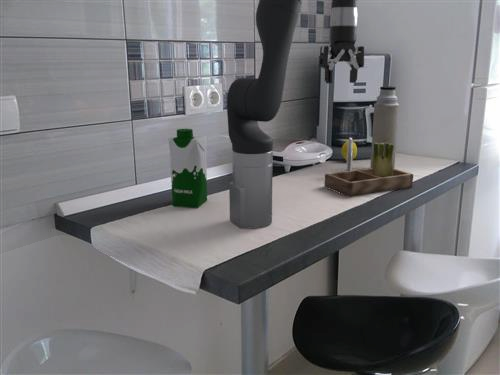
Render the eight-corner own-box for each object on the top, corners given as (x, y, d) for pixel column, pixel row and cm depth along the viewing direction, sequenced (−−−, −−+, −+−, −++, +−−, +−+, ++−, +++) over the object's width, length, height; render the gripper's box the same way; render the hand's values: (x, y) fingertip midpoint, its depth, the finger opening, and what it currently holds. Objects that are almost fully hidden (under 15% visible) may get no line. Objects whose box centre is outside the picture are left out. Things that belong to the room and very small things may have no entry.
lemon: (355, 160, 185) (356, 138, 183) (357, 163, 180) (358, 141, 178) (340, 159, 186) (341, 138, 184) (341, 163, 181) (342, 141, 178)
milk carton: (168, 207, 129) (164, 130, 124) (181, 197, 138) (179, 125, 133) (199, 209, 127) (197, 131, 122) (211, 200, 135) (210, 126, 130)
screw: (351, 180, 156) (337, 177, 159) (359, 177, 160) (345, 175, 163) (353, 139, 153) (339, 137, 156) (361, 137, 156) (347, 135, 159)
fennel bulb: (369, 180, 152) (371, 141, 148) (381, 178, 154) (383, 140, 151) (383, 184, 147) (386, 144, 144) (395, 182, 149) (398, 143, 146)
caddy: (349, 197, 138) (350, 183, 137) (324, 186, 148) (325, 173, 147) (412, 187, 148) (413, 174, 147) (384, 178, 158) (385, 166, 157)
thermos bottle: (374, 166, 175) (379, 85, 168) (397, 168, 171) (403, 86, 164) (366, 170, 169) (372, 86, 161) (390, 173, 165) (396, 87, 157)
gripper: (330, 23, 135) (328, 84, 140) (372, 24, 141) (368, 83, 146) (315, 25, 142) (313, 83, 146) (355, 26, 148) (352, 81, 152)
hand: (340, 83), depth 146 cm, fingers open, 8 cm apart
